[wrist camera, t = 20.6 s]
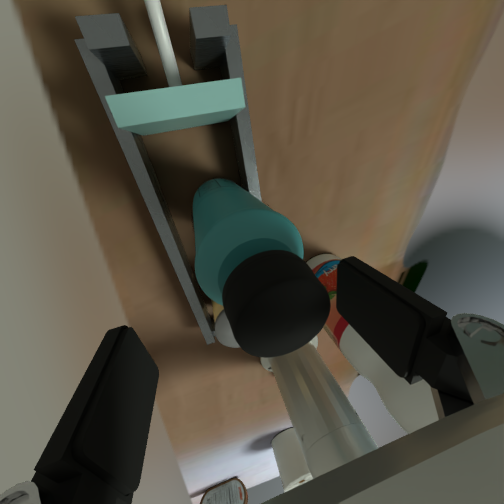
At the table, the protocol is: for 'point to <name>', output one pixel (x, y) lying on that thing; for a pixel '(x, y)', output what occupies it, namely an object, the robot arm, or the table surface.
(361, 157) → the table surface
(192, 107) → the pusher
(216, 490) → the tin
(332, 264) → the fruit juice
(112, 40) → the lane
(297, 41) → the table surface
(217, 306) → the jar
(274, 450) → the toilet tissue
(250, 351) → the beverage bottle
